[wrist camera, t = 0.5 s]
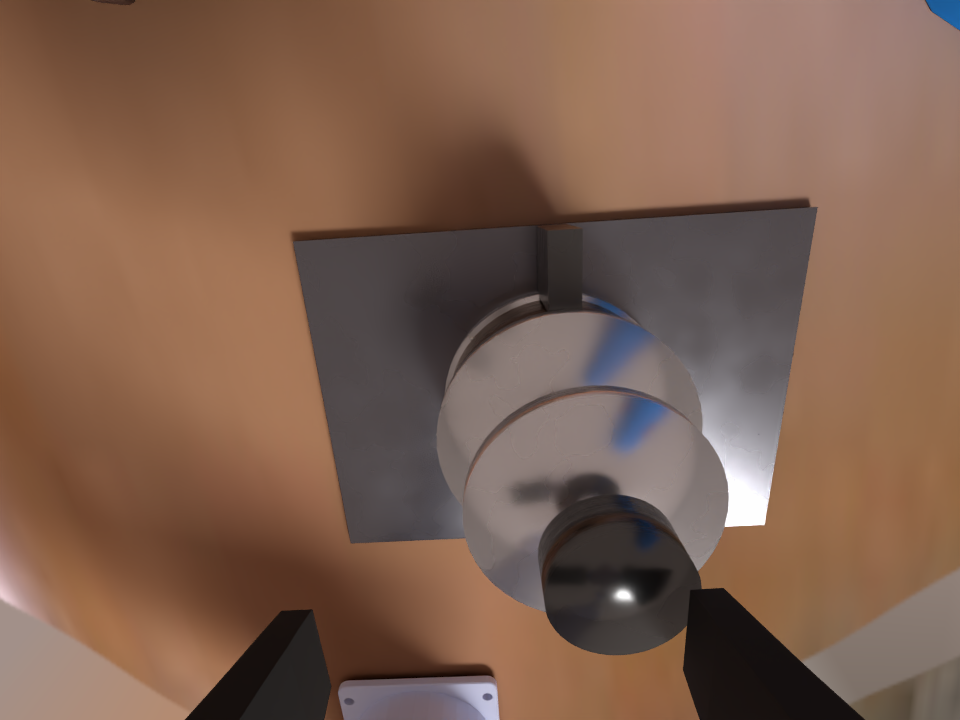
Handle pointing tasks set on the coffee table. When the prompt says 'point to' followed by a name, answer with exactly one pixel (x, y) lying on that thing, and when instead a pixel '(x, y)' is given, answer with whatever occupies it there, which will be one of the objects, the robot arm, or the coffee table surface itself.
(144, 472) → the coffee table surface
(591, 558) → the silver lid with knob
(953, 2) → the thermos
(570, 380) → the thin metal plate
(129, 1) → the brown animal figurine
